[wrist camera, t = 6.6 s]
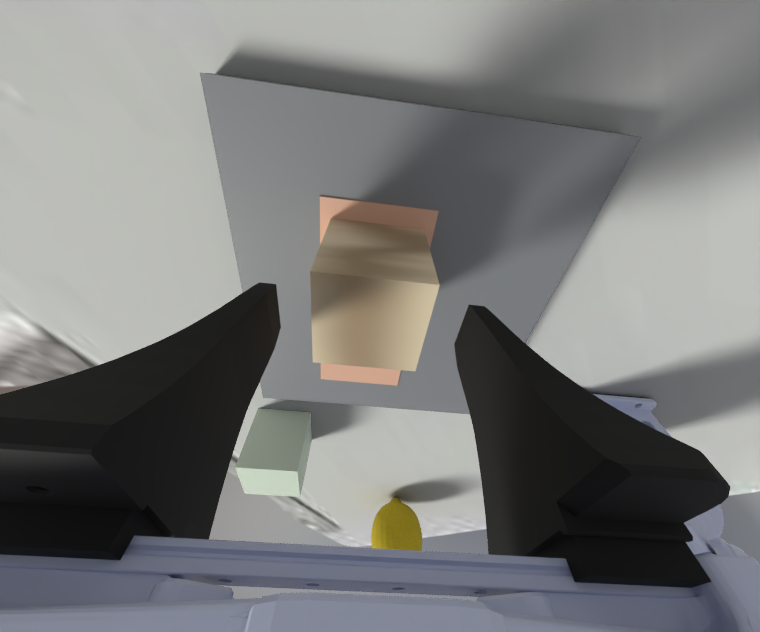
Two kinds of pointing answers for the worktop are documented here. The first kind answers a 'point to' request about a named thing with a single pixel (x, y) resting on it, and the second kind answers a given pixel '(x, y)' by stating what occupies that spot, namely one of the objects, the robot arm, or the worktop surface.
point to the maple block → (371, 295)
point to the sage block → (275, 453)
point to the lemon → (396, 528)
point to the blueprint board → (402, 216)
